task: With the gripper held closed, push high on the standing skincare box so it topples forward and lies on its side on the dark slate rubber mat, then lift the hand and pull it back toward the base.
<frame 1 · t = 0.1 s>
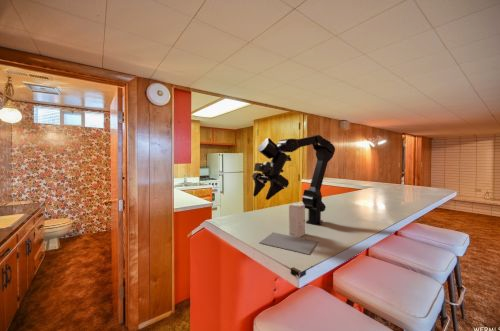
hand: (260, 197, 83), 15 cm above the countertop, tool tilted 35°, fingers open, 9 cm apart
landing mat: (288, 242, 75), on the countertop
skincare box: (297, 235, 83), on the countertop
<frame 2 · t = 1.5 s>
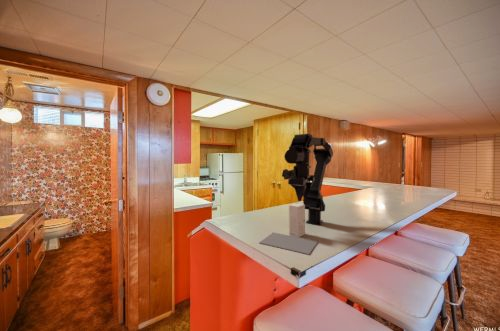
hand: (302, 199, 89), 13 cm above the countertop, tool pointing down, fingers open, 7 cm apart
nothing on the countertop moved.
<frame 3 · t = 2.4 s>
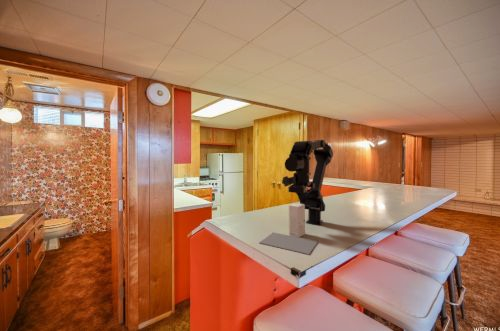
hand: (302, 206, 89), 10 cm above the countertop, tool pointing down, fingers closed
nothing on the countertop moved.
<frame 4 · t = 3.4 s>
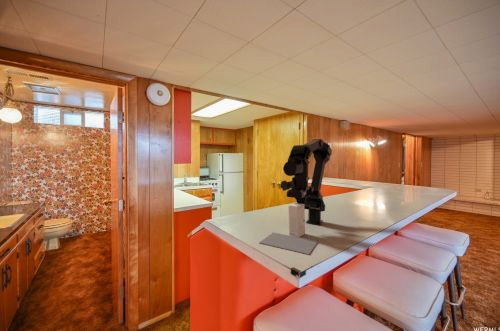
hand: (300, 211, 87), 8 cm above the countertop, tool pointing down, fingers closed
skincare box: (297, 234, 83), on the countertop, touching gripper
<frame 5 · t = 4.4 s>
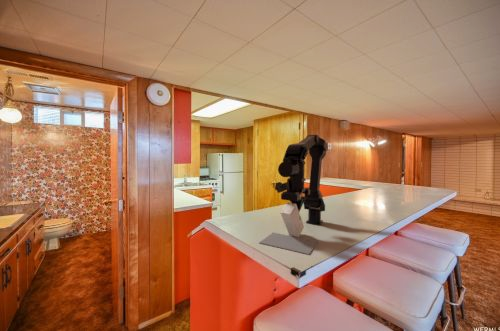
hand: (296, 214, 82), 8 cm above the countertop, tool pointing down, fingers closed
skincare box: (296, 231, 83), point 1 cm above the countertop
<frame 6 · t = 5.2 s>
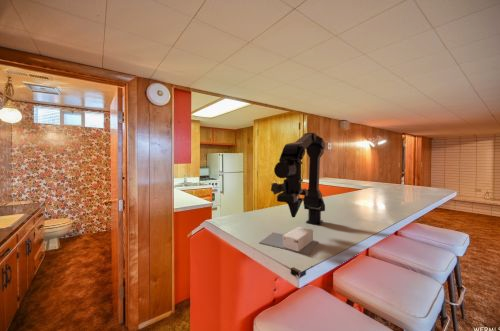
hand: (293, 217, 79), 8 cm above the countertop, tool pointing down, fingers closed
skincare box: (306, 232, 78), point 3 cm above the countertop, touching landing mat
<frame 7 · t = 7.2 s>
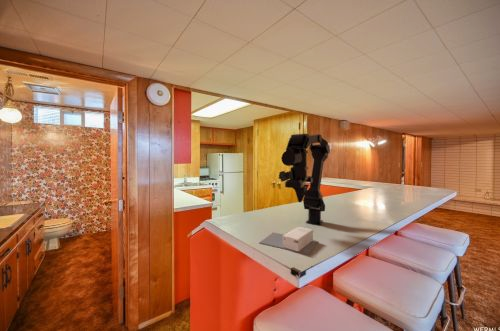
hand: (300, 202, 86), 13 cm above the countertop, tool pointing down, fingers closed
nothing on the countertop moved.
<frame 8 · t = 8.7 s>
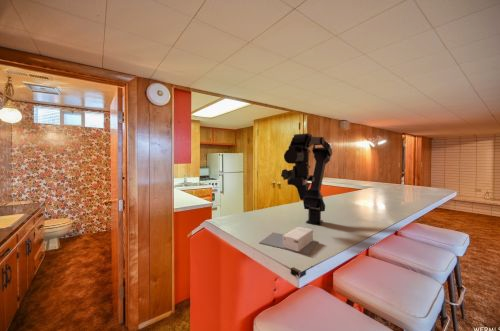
hand: (301, 199, 88), 13 cm above the countertop, tool pointing down, fingers closed
nothing on the countertop moved.
at the end: skincare box tilted 92°; skincare box inside the target area (5.4 cm from its centre), point 2.7 cm above the countertop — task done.
